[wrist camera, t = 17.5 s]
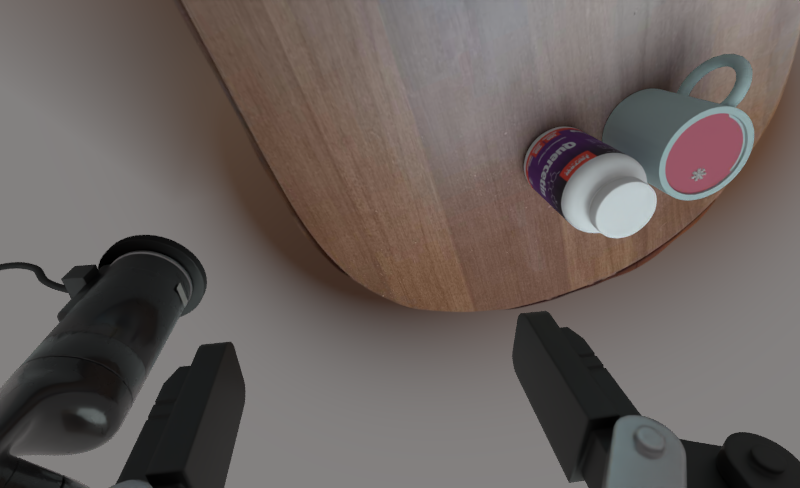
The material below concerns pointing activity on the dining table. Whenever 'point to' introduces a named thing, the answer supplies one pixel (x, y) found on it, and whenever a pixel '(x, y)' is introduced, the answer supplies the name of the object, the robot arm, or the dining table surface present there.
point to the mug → (686, 133)
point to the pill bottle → (590, 182)
